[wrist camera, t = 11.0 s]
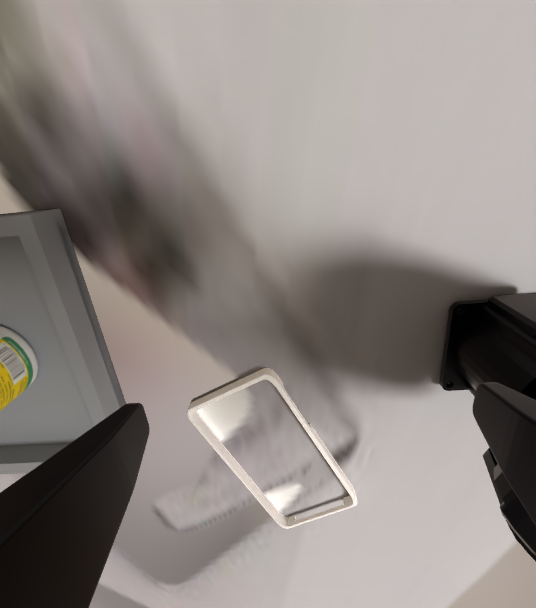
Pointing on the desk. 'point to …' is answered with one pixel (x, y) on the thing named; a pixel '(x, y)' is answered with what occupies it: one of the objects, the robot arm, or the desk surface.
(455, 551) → the desk surface
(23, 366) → the supplement bottle
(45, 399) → the tray
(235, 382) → the phone case
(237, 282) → the desk surface
